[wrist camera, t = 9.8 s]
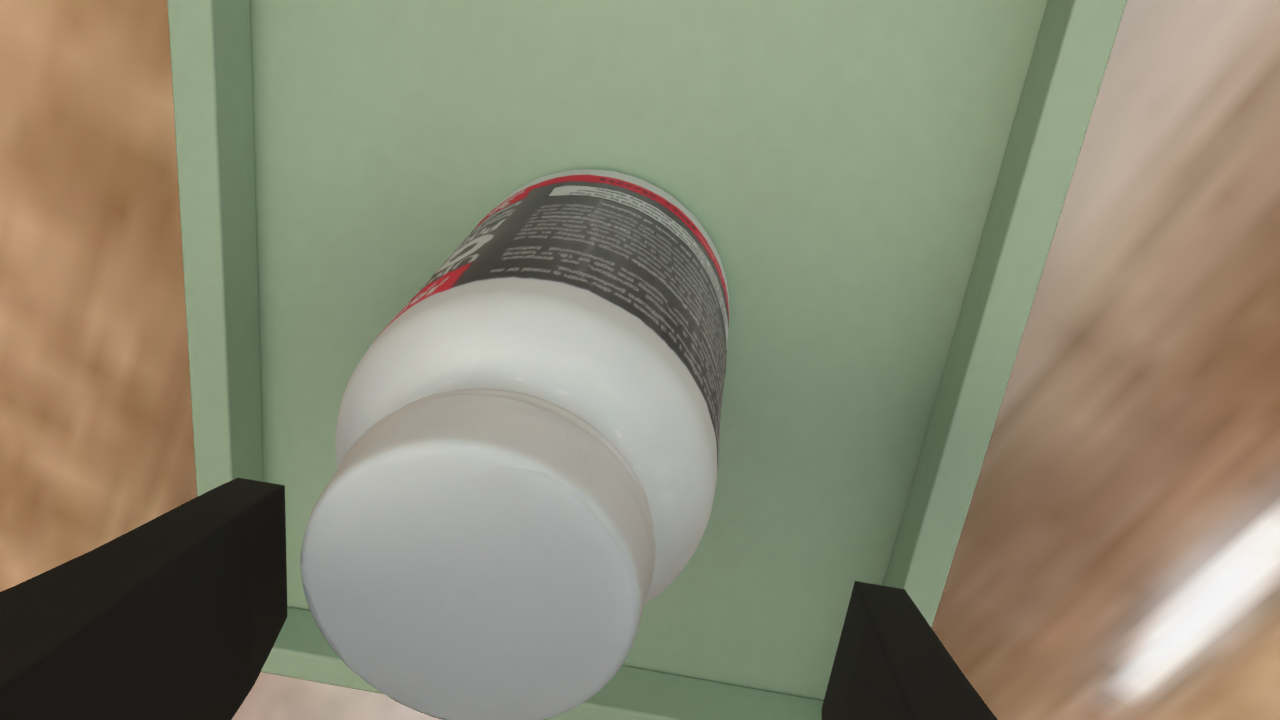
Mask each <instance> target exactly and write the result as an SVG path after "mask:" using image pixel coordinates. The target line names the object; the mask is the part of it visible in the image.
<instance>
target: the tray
mask: <svg viewBox="0 0 1280 720" xmlns="http://www.w3.org/2000/svg"><path fill="white" fill-rule="evenodd" d="M167 1H168V17H169V34H170V51H171V67H172V84H173V101H174V117H175V134H176V151H177V168H178V184H179V201H180V218H181V234H182V251H183V268H184V284H185V301H186V318H187V334H188V351H189V368H190V384H191V401H192V418H193V434H194V451H195V468H196V484H197V497H198V496H200V495H202V494H204V493H206V492H208V491H210V490H212V489H214V488H216V487H218V486H220V485H222V484H225V483H227V482H229V481H231V480H234V479H236V478H244V479H250V480H256V481H262V482H268V483H274V484H280V485H285V516H286V566H287V615H288V616H287V618H286V620H285V623H284V625H283V627H282V629H281V631H280V633H279V635H278V637H277V639H276V642H275V644H274V646H273V648H272V650H271V652H270V654H269V656H268V658H267V660H266V662H265V664H264V666H263V668H262V670H261V672H264V673H269V674H275V675H281V676H286V677H292V678H297V679H303V680H309V681H314V682H320V683H325V684H331V685H337V686H342V687H348V688H353V689H359V690H365V691H370V692H376V693H381V694H383V693H382V692H380V691H379V690H377V689H376V688H374V687H373V686H371V685H370V684H368V683H367V682H366V681H364V680H363V679H362V678H361V677H360V676H358V675H357V674H356V673H354V672H353V671H352V670H351V669H350V668H349V667H348V666H347V665H346V664H345V663H344V662H343V661H342V659H341V658H340V657H339V656H338V655H337V654H336V653H335V652H334V650H333V649H332V648H331V646H330V645H329V644H328V642H327V641H326V639H325V638H324V636H323V634H322V632H321V631H320V630H319V628H318V626H317V624H316V622H315V620H314V618H313V616H312V614H311V611H310V609H309V607H308V604H307V600H306V597H305V594H304V589H303V584H302V578H301V571H300V554H301V549H302V544H303V538H304V533H305V529H306V526H307V523H308V520H309V517H310V515H311V512H312V510H313V508H314V506H315V504H316V502H317V501H318V499H319V497H320V495H321V493H322V492H323V490H324V489H325V487H326V486H327V484H328V483H329V481H330V480H331V478H332V477H333V476H334V474H335V473H336V471H337V464H336V454H335V434H336V426H337V418H338V414H339V410H340V405H341V401H342V397H343V395H344V392H345V390H346V387H347V384H348V382H349V379H350V377H351V375H352V374H353V372H354V370H355V368H356V366H357V364H358V363H359V361H360V360H361V359H362V357H363V356H364V354H365V353H366V351H367V350H368V349H369V347H370V346H371V344H372V343H373V342H374V340H375V339H376V338H377V336H378V335H379V334H380V333H381V332H382V331H383V330H384V328H385V327H386V326H387V325H388V324H389V323H390V322H391V321H392V320H393V319H394V317H395V316H396V315H397V314H398V313H399V312H400V311H401V310H402V309H403V308H404V307H405V306H406V305H407V304H408V303H409V302H410V300H411V299H412V298H413V297H414V296H415V294H416V293H417V292H418V291H419V290H420V289H421V288H422V287H423V286H424V285H425V284H426V283H427V282H428V281H429V279H430V278H431V277H432V276H433V274H434V273H435V272H436V271H438V270H439V268H440V267H441V266H442V265H443V264H444V262H445V261H446V260H447V259H448V258H449V257H450V256H451V255H452V254H453V252H454V251H455V250H456V249H457V248H458V246H459V245H460V244H461V243H462V242H463V241H464V240H465V238H466V237H467V236H468V235H469V234H470V233H471V232H472V231H473V229H474V228H475V227H476V226H477V225H478V224H479V223H480V221H481V220H483V219H484V218H485V217H486V216H487V214H488V213H489V212H490V211H491V210H492V209H493V208H494V207H495V206H496V205H498V204H499V203H500V202H501V201H502V200H504V199H505V198H506V197H507V196H509V195H510V194H511V193H513V192H514V191H515V190H517V189H519V188H521V187H523V186H524V185H526V184H528V183H530V182H532V181H534V180H536V179H538V178H540V177H543V176H547V175H551V174H555V173H559V172H563V171H569V170H575V169H595V170H607V171H615V172H619V173H623V174H626V175H630V176H633V177H636V178H639V179H642V180H644V181H646V182H648V183H650V184H652V185H654V186H656V187H658V188H660V189H662V190H664V191H665V192H667V193H668V194H670V195H671V196H673V197H674V198H675V199H676V200H677V201H678V202H680V203H681V204H682V205H683V206H684V207H685V208H686V209H687V210H689V211H690V212H691V213H692V214H693V215H694V216H695V217H696V218H697V220H698V221H699V222H700V224H701V225H702V227H703V228H704V230H705V231H706V233H707V234H708V236H709V237H710V239H711V241H712V242H713V244H714V246H715V248H716V250H717V252H718V254H719V256H720V259H721V262H722V265H723V268H724V272H725V275H726V279H727V285H728V294H729V327H728V340H727V354H726V373H725V379H724V388H723V396H722V406H721V418H720V434H719V460H718V476H717V482H716V489H715V494H714V500H713V505H712V511H711V514H710V517H709V520H708V524H707V527H706V529H705V531H704V533H703V536H702V538H701V540H700V543H699V545H698V546H697V548H696V550H695V552H694V554H693V555H692V557H691V558H690V560H689V561H688V563H687V564H686V566H685V567H684V568H683V570H682V571H681V572H680V574H679V575H678V576H677V577H676V578H675V579H674V580H673V581H672V582H671V583H670V584H669V585H668V586H667V587H666V588H665V589H664V590H663V591H662V592H661V593H660V594H659V595H657V596H656V597H655V598H654V599H652V600H651V601H650V602H648V603H647V604H645V605H644V608H643V613H642V617H641V621H640V625H639V629H638V632H637V635H636V638H635V641H634V643H633V646H632V648H631V650H630V652H629V654H628V655H627V657H626V659H625V661H624V663H623V664H622V666H621V667H620V669H619V670H618V672H617V673H616V674H615V675H614V676H613V678H612V679H611V680H610V681H609V682H608V683H607V684H606V685H605V686H604V687H603V688H602V689H601V690H600V691H599V692H598V693H596V694H595V695H594V696H592V697H591V698H590V699H588V700H587V701H585V702H584V703H582V704H581V705H580V706H577V707H575V708H573V709H571V710H569V711H567V712H565V713H563V714H560V715H557V716H554V717H551V718H548V719H544V720H822V705H823V701H824V697H825V694H826V690H827V686H828V682H829V678H830V674H831V671H832V667H833V663H834V659H835V655H836V651H837V648H838V644H839V640H840V636H841V632H842V628H843V625H844V621H845V617H846V613H847V609H848V605H849V602H850V598H851V594H852V590H853V586H854V582H855V581H858V582H864V583H870V584H876V585H882V586H888V587H894V588H900V589H905V590H906V592H907V593H908V595H909V596H910V598H911V599H912V601H913V602H914V603H915V605H916V606H917V608H918V609H919V611H920V612H921V614H922V615H923V616H924V618H925V619H926V621H927V622H928V624H929V625H930V627H932V624H933V621H934V618H935V615H936V611H937V608H938V605H939V602H940V599H941V595H942V592H943V589H944V586H945V582H946V579H947V576H948V573H949V570H950V566H951V563H952V560H953V557H954V554H955V550H956V547H957V544H958V541H959V538H960V534H961V531H962V528H963V525H964V522H965V518H966V515H967V512H968V509H969V506H970V502H971V499H972V496H973V493H974V490H975V486H976V483H977V480H978V477H979V473H980V470H981V467H982V464H983V461H984V457H985V454H986V451H987V448H988V445H989V441H990V438H991V435H992V432H993V429H994V425H995V422H996V419H997V416H998V413H999V409H1000V406H1001V403H1002V400H1003V397H1004V393H1005V390H1006V387H1007V384H1008V380H1009V377H1010V374H1011V371H1012V368H1013V364H1014V361H1015V358H1016V355H1017V352H1018V348H1019V345H1020V342H1021V339H1022V336H1023V332H1024V329H1025V326H1026V323H1027V320H1028V316H1029V313H1030V310H1031V307H1032V304H1033V300H1034V297H1035V294H1036V291H1037V288H1038V284H1039V281H1040V278H1041V275H1042V271H1043V268H1044V265H1045V262H1046V259H1047V255H1048V252H1049V249H1050V246H1051V243H1052V239H1053V236H1054V233H1055V230H1056V227H1057V223H1058V220H1059V217H1060V214H1061V211H1062V207H1063V204H1064V201H1065V198H1066V195H1067V191H1068V188H1069V185H1070V182H1071V179H1072V175H1073V172H1074V169H1075V166H1076V162H1077V159H1078V156H1079V153H1080V150H1081V146H1082V143H1083V140H1084V137H1085V134H1086V130H1087V127H1088V124H1089V121H1090V118H1091V114H1092V111H1093V108H1094V105H1095V102H1096V98H1097V95H1098V92H1099V89H1100V86H1101V82H1102V79H1103V76H1104V73H1105V69H1106V66H1107V63H1108V60H1109V57H1110V53H1111V50H1112V47H1113V44H1114V41H1115V37H1116V34H1117V31H1118V28H1119V25H1120V21H1121V18H1122V15H1123V12H1124V9H1125V5H1126V2H1127V0H167Z"/></svg>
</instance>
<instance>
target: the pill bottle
mask: <svg viewBox="0 0 1280 720" xmlns="http://www.w3.org/2000/svg"><path fill="white" fill-rule="evenodd" d="M728 327H729V294H728V285H727V279H726V275H725V272H724V268H723V265H722V262H721V259H720V256H719V254H718V252H717V250H716V248H715V246H714V244H713V242H712V241H711V239H710V237H709V236H708V234H707V233H706V231H705V230H704V228H703V227H702V225H701V224H700V222H699V221H698V220H697V218H696V217H695V216H694V215H693V214H692V213H691V212H690V211H689V210H687V209H686V208H685V207H684V206H683V205H682V204H681V203H680V202H678V201H677V200H676V199H675V198H674V197H673V196H671V195H670V194H668V193H667V192H665V191H664V190H662V189H660V188H658V187H656V186H654V185H652V184H650V183H648V182H646V181H644V180H642V179H639V178H636V177H633V176H630V175H626V174H623V173H619V172H615V171H607V170H595V169H575V170H569V171H563V172H559V173H555V174H551V175H547V176H543V177H540V178H538V179H536V180H534V181H532V182H530V183H528V184H526V185H524V186H523V187H521V188H519V189H517V190H515V191H514V192H513V193H511V194H510V195H509V196H507V197H506V198H505V199H504V200H502V201H501V202H500V203H499V204H498V205H496V206H495V207H494V208H493V209H492V210H491V211H490V212H489V213H488V214H487V216H486V217H485V218H484V219H483V220H481V221H480V223H479V224H478V225H477V226H476V227H475V228H474V229H473V231H472V232H471V233H470V234H469V235H468V236H467V237H466V238H465V240H464V241H463V242H462V243H461V244H460V245H459V246H458V248H457V249H456V250H455V251H454V252H453V254H452V255H451V256H450V257H449V258H448V259H447V260H446V261H445V262H444V264H443V265H442V266H441V267H440V268H439V270H438V271H436V272H435V273H434V274H433V276H432V277H431V278H430V279H429V281H428V282H427V283H426V284H425V285H424V286H423V287H422V288H421V289H420V290H419V291H418V292H417V293H416V294H415V296H414V297H413V298H412V299H411V300H410V302H409V303H408V304H407V305H406V306H405V307H404V308H403V309H402V310H401V311H400V312H399V313H398V314H397V315H396V316H395V317H394V319H393V320H392V321H391V322H390V323H389V324H388V325H387V326H386V327H385V328H384V330H383V331H382V332H381V333H380V334H379V335H378V336H377V338H376V339H375V340H374V342H373V343H372V344H371V346H370V347H369V349H368V350H367V351H366V353H365V354H364V356H363V357H362V359H361V360H360V361H359V363H358V364H357V366H356V368H355V370H354V372H353V374H352V375H351V377H350V379H349V382H348V384H347V387H346V390H345V392H344V395H343V397H342V401H341V405H340V410H339V414H338V418H337V426H336V434H335V454H336V464H337V471H336V473H335V474H334V476H333V477H332V478H331V480H330V481H329V483H328V484H327V486H326V487H325V489H324V490H323V492H322V493H321V495H320V497H319V499H318V501H317V502H316V504H315V506H314V508H313V510H312V512H311V515H310V517H309V520H308V523H307V526H306V529H305V533H304V538H303V544H302V549H301V554H300V571H301V578H302V584H303V589H304V594H305V597H306V600H307V604H308V607H309V609H310V611H311V614H312V616H313V618H314V620H315V622H316V624H317V626H318V628H319V630H320V631H321V632H322V634H323V636H324V638H325V639H326V641H327V642H328V644H329V645H330V646H331V648H332V649H333V650H334V652H335V653H336V654H337V655H338V656H339V657H340V658H341V659H342V661H343V662H344V663H345V664H346V665H347V666H348V667H349V668H350V669H351V670H352V671H353V672H354V673H356V674H357V675H358V676H360V677H361V678H362V679H363V680H364V681H366V682H367V683H368V684H370V685H371V686H373V687H374V688H376V689H377V690H379V691H380V692H382V693H383V694H385V695H387V696H388V697H390V698H391V699H393V700H395V701H397V702H399V703H401V704H403V705H405V706H407V707H409V708H412V709H414V710H416V711H419V712H421V713H425V714H427V715H429V716H432V717H435V718H439V719H444V720H544V719H548V718H551V717H554V716H557V715H560V714H563V713H565V712H567V711H569V710H571V709H573V708H575V707H577V706H580V705H581V704H582V703H584V702H585V701H587V700H588V699H590V698H591V697H592V696H594V695H595V694H596V693H598V692H599V691H600V690H601V689H602V688H603V687H604V686H605V685H606V684H607V683H608V682H609V681H610V680H611V679H612V678H613V676H614V675H615V674H616V673H617V672H618V670H619V669H620V667H621V666H622V664H623V663H624V661H625V659H626V657H627V655H628V654H629V652H630V650H631V648H632V646H633V643H634V641H635V638H636V635H637V632H638V629H639V625H640V621H641V617H642V613H643V608H644V605H645V604H647V603H648V602H650V601H651V600H652V599H654V598H655V597H656V596H657V595H659V594H660V593H661V592H662V591H663V590H664V589H665V588H666V587H667V586H668V585H669V584H670V583H671V582H672V581H673V580H674V579H675V578H676V577H677V576H678V575H679V574H680V572H681V571H682V570H683V568H684V567H685V566H686V564H687V563H688V561H689V560H690V558H691V557H692V555H693V554H694V552H695V550H696V548H697V546H698V545H699V543H700V540H701V538H702V536H703V533H704V531H705V529H706V527H707V524H708V520H709V517H710V514H711V511H712V505H713V500H714V494H715V489H716V482H717V476H718V460H719V434H720V418H721V406H722V396H723V388H724V379H725V373H726V354H727V340H728Z"/></svg>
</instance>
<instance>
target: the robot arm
mask: <svg viewBox="0 0 1280 720" xmlns="http://www.w3.org/2000/svg"><path fill="white" fill-rule="evenodd" d="M287 616H288V615H287V566H286V516H285V485H280V484H274V483H268V482H262V481H256V480H250V479H244V478H236V479H234V480H231V481H229V482H227V483H225V484H222V485H220V486H218V487H216V488H214V489H212V490H210V491H208V492H206V493H204V494H202V495H200V496H198V497H196V498H194V499H192V500H190V501H188V502H186V503H184V504H182V505H181V506H179V507H177V508H175V509H173V510H171V511H169V512H167V513H165V514H163V515H161V516H159V517H157V518H155V519H154V520H152V521H150V522H148V523H146V524H144V525H142V526H140V527H138V528H136V529H134V530H132V531H130V532H128V533H126V534H124V535H122V536H120V537H118V538H116V539H114V540H112V541H110V542H108V543H106V544H104V545H102V546H100V547H98V548H96V549H94V550H92V551H90V552H88V553H86V554H84V555H81V556H79V557H77V558H75V559H73V560H70V561H68V562H66V563H64V564H62V565H60V566H57V567H55V568H53V569H51V570H49V571H47V572H44V573H42V574H40V575H38V576H36V577H34V578H31V579H29V580H27V581H25V582H23V583H20V584H18V585H16V586H14V587H12V588H9V589H7V590H5V591H2V592H0V720H231V719H232V718H233V716H234V715H235V713H236V712H237V710H238V709H239V707H240V706H241V704H242V703H243V701H244V699H245V698H246V696H247V695H248V693H249V692H250V690H251V689H252V687H253V685H254V684H255V682H256V680H257V678H258V676H259V674H260V672H261V670H262V668H263V666H264V664H265V662H266V660H267V658H268V656H269V654H270V652H271V650H272V648H273V646H274V644H275V642H276V639H277V637H278V635H279V633H280V631H281V629H282V627H283V625H284V623H285V620H286V618H287ZM822 720H997V718H996V717H995V716H994V715H993V713H992V712H991V711H990V709H989V708H988V707H987V705H986V704H985V703H984V701H983V700H982V699H981V697H980V696H979V695H978V693H977V692H976V691H975V689H974V688H973V687H972V685H971V684H970V683H969V681H968V680H967V678H966V677H965V676H964V674H963V673H962V671H961V670H960V669H959V667H958V666H957V664H956V663H955V661H954V660H953V659H952V657H951V656H950V654H949V653H948V651H947V650H946V649H945V647H944V646H943V644H942V643H941V641H940V640H939V638H938V637H937V635H936V634H935V633H934V631H933V630H932V628H931V627H930V625H929V624H928V622H927V621H926V619H925V618H924V616H923V615H922V614H921V612H920V611H919V609H918V608H917V606H916V605H915V603H914V602H913V601H912V599H911V598H910V596H909V595H908V593H907V592H906V590H905V589H900V588H894V587H888V586H882V585H876V584H870V583H864V582H858V581H855V582H854V586H853V590H852V594H851V598H850V602H849V605H848V609H847V613H846V617H845V621H844V625H843V628H842V632H841V636H840V640H839V644H838V648H837V651H836V655H835V659H834V663H833V667H832V671H831V674H830V678H829V682H828V686H827V690H826V694H825V697H824V701H823V705H822Z"/></svg>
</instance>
